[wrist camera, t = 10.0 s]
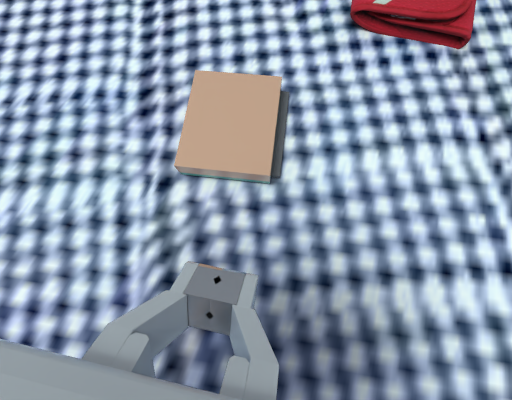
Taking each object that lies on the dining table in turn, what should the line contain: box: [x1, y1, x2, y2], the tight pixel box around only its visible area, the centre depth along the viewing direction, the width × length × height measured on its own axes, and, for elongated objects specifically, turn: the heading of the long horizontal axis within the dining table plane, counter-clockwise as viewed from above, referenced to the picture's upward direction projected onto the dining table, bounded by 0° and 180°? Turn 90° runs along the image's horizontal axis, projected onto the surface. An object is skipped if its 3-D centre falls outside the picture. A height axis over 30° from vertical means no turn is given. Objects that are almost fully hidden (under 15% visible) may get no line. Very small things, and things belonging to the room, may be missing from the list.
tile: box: [174, 70, 282, 184], centre depth 30 cm, size 2×10×12 cm
